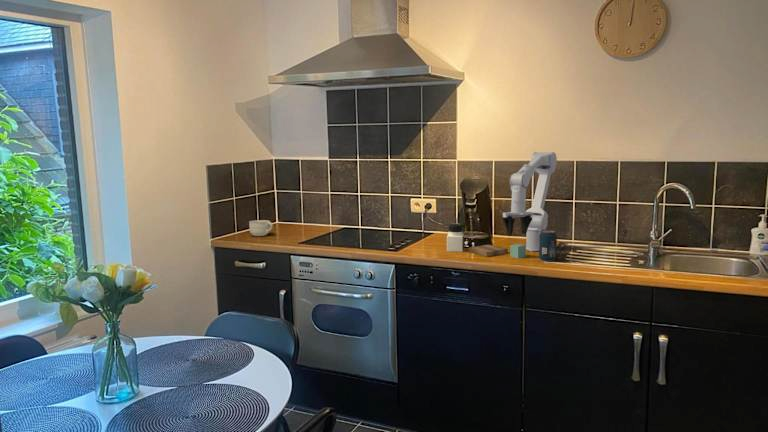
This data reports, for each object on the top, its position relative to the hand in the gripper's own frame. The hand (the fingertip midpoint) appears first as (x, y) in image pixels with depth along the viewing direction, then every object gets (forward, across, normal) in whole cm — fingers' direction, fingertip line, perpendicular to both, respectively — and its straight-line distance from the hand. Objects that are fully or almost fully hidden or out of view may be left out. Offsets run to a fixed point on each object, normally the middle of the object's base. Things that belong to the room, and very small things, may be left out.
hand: (516, 234), depth 253 cm
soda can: (+10, +7, -11) cm, 17 cm away
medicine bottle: (+10, -14, +25) cm, 30 cm away
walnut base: (+10, -4, +13) cm, 17 cm away
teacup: (+12, -76, +111) cm, 136 cm away
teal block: (+10, +1, 0) cm, 10 cm away
